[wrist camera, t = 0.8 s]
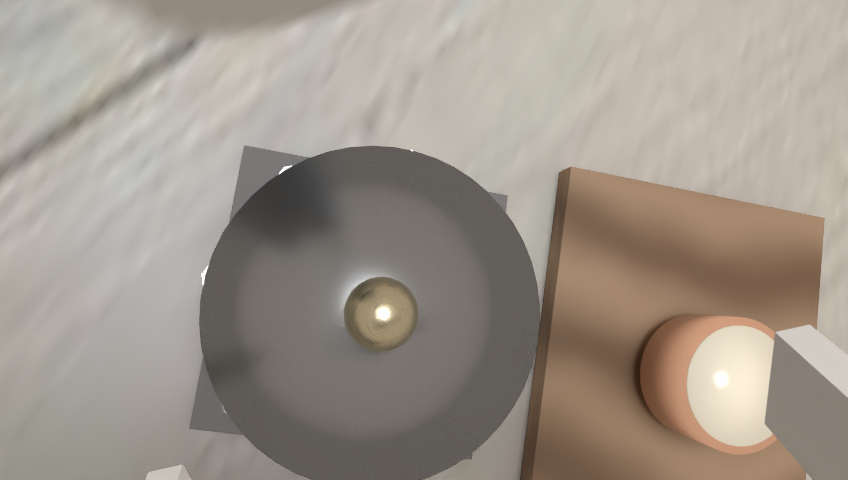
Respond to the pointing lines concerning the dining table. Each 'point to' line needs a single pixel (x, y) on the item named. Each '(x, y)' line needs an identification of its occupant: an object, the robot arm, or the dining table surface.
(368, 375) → the silver lidded pot
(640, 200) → the serving board
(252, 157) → the rubber mat
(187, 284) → the dining table surface
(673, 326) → the terracotta bowl
